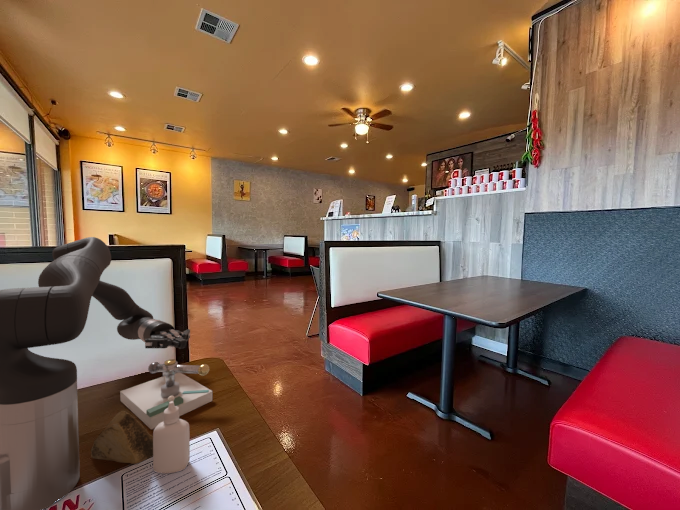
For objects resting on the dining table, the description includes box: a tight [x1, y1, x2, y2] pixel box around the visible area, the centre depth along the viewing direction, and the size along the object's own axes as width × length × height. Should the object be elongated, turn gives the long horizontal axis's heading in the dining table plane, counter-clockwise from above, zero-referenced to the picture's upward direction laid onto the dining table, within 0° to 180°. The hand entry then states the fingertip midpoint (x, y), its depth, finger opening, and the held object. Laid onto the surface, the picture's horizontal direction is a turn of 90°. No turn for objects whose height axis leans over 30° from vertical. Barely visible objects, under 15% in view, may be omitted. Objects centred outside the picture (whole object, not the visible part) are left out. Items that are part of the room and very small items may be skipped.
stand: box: [119, 373, 213, 430], centre depth 72 cm, size 14×18×5 cm
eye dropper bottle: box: [152, 401, 191, 474], centre depth 51 cm, size 4×6×12 cm
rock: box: [90, 410, 153, 465], centre depth 55 cm, size 11×9×10 cm
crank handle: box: [147, 358, 210, 387], centre depth 71 cm, size 15×3×6 cm, turn 87°
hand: (183, 344), depth 80 cm, fingers closed
